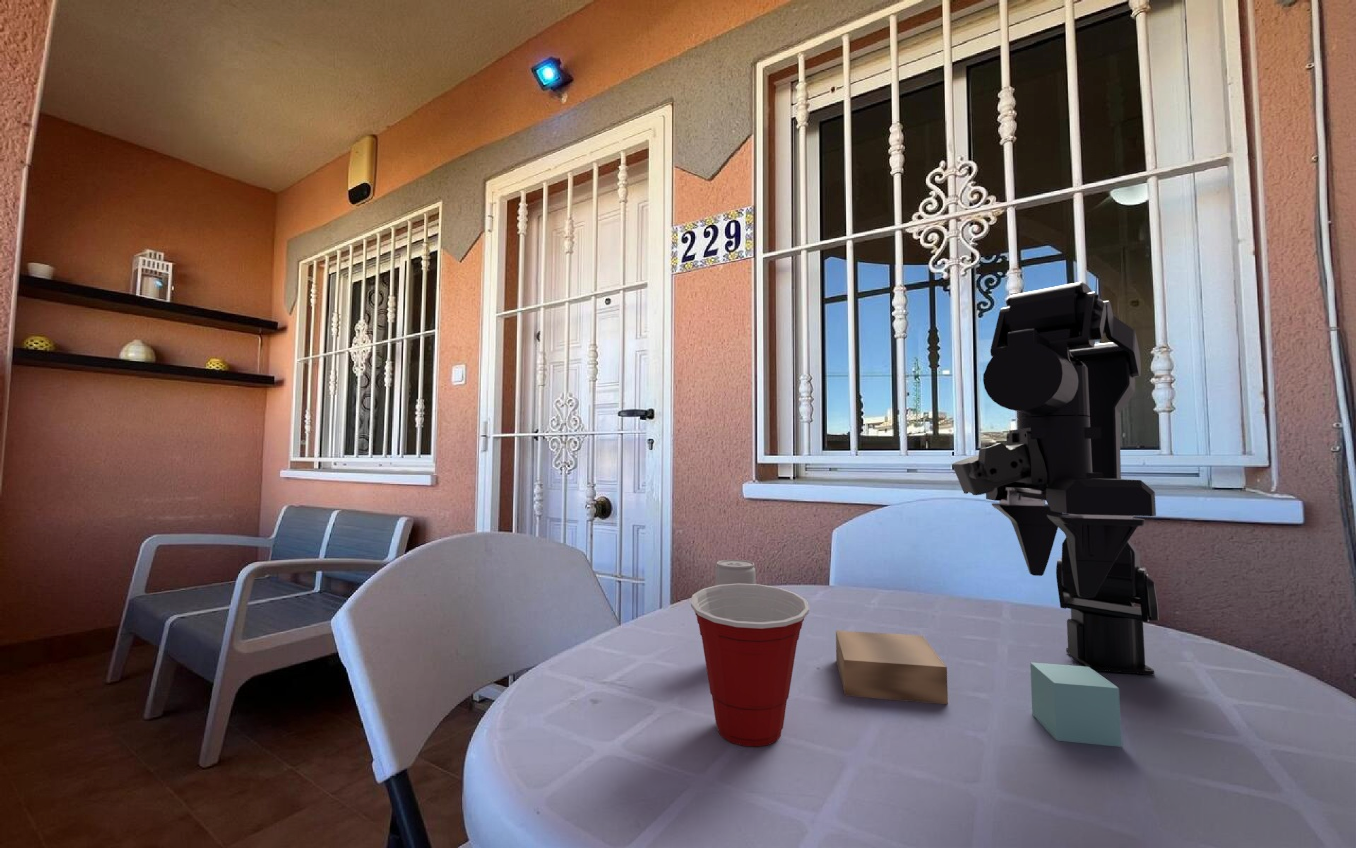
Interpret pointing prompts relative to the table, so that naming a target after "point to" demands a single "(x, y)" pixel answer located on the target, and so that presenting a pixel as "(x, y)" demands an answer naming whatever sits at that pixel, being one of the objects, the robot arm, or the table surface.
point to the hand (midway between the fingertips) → (1059, 585)
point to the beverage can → (735, 572)
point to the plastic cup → (749, 656)
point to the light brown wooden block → (890, 667)
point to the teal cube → (1076, 704)
